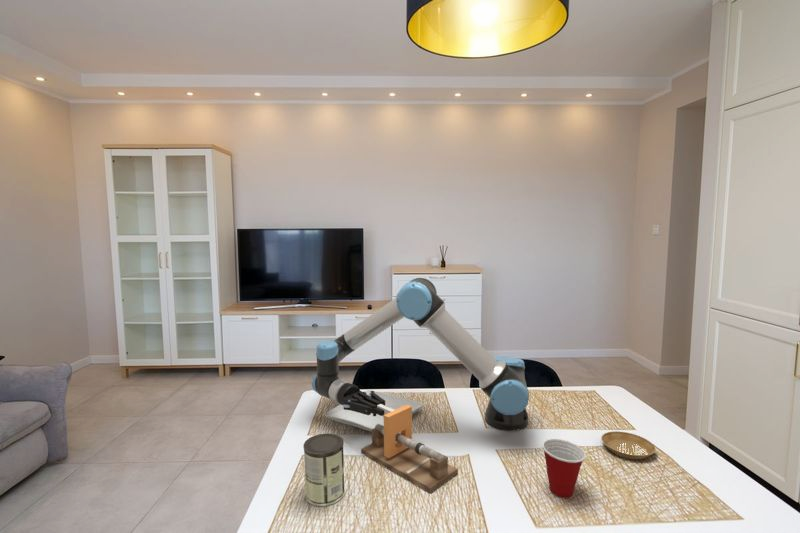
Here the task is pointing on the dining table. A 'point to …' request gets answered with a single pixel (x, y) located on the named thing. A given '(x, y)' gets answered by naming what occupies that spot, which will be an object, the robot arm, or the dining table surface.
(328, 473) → the coffee can
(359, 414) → the square plate
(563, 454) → the plastic cup
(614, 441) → the plant saucer
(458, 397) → the dining table surface
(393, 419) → the upright orange slab
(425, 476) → the pipe stand
